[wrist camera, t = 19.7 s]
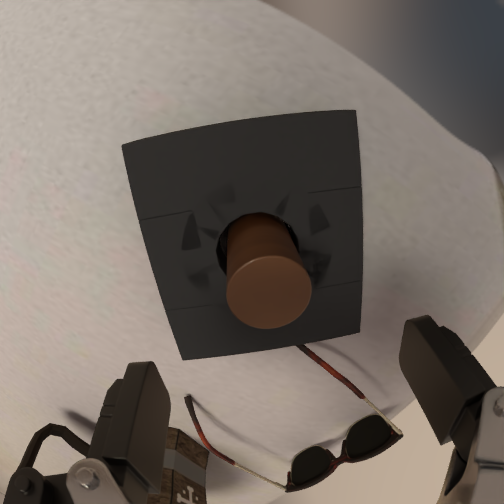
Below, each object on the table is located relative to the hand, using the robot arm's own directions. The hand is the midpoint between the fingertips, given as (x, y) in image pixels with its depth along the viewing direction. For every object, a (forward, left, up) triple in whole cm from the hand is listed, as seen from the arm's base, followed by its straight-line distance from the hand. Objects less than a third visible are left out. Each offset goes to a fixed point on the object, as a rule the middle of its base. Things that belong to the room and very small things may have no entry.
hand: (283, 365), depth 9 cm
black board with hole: (0, 0, -11) cm, 11 cm away
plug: (0, 0, -11) cm, 11 cm away
